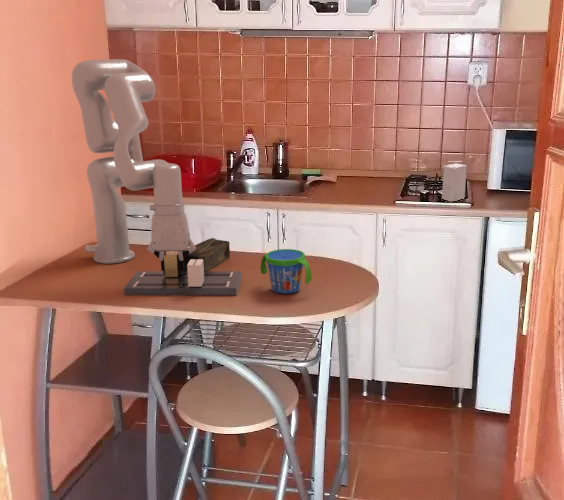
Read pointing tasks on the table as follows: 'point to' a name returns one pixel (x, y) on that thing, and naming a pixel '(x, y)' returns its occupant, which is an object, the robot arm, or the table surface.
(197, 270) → the block
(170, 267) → the block
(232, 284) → the dark grey flat board
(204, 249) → the beverage carton
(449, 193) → the skincare box
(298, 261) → the snack cup
